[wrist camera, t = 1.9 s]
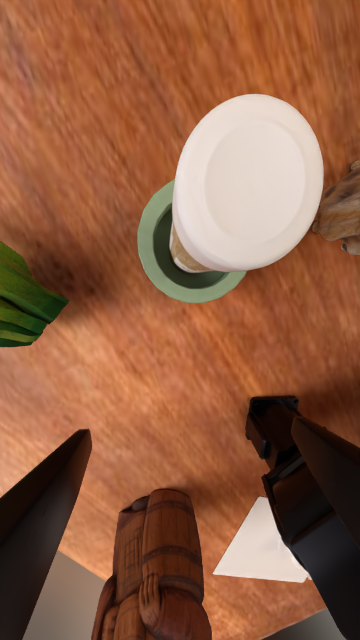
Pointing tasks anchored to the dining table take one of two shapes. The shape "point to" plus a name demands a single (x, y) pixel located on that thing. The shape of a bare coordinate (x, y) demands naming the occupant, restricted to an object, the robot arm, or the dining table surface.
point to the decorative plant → (23, 302)
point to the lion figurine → (341, 211)
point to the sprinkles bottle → (244, 187)
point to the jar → (158, 263)
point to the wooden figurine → (155, 574)
